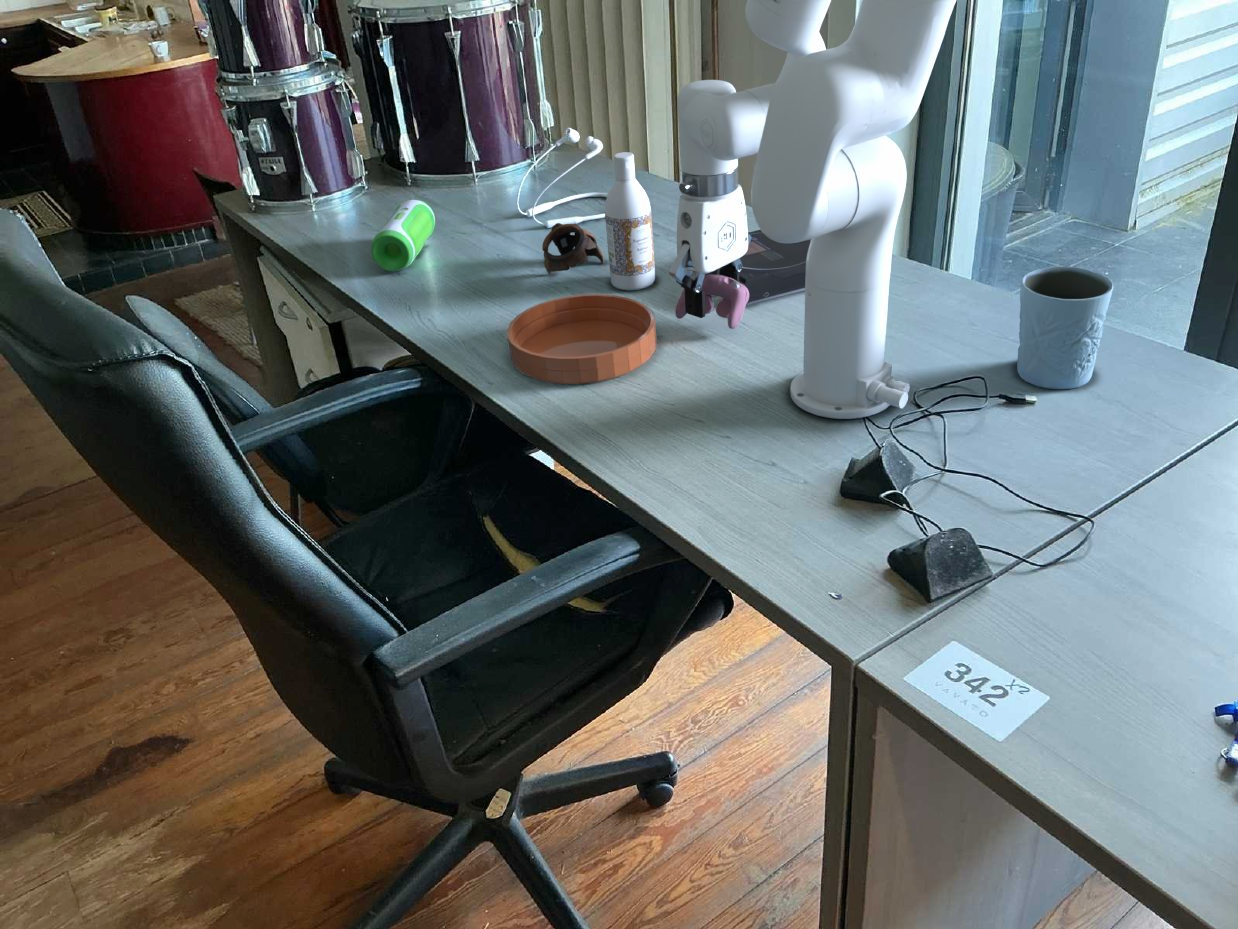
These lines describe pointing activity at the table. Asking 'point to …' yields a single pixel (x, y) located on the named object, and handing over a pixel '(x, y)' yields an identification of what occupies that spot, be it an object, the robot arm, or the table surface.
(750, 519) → the table surface
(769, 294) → the portable cd player
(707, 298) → the video game controller
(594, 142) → the earphone
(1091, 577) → the table surface
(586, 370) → the catchall bowl
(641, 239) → the bath foam
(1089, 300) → the embossed flower pot
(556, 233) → the brown ring bracket
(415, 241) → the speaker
